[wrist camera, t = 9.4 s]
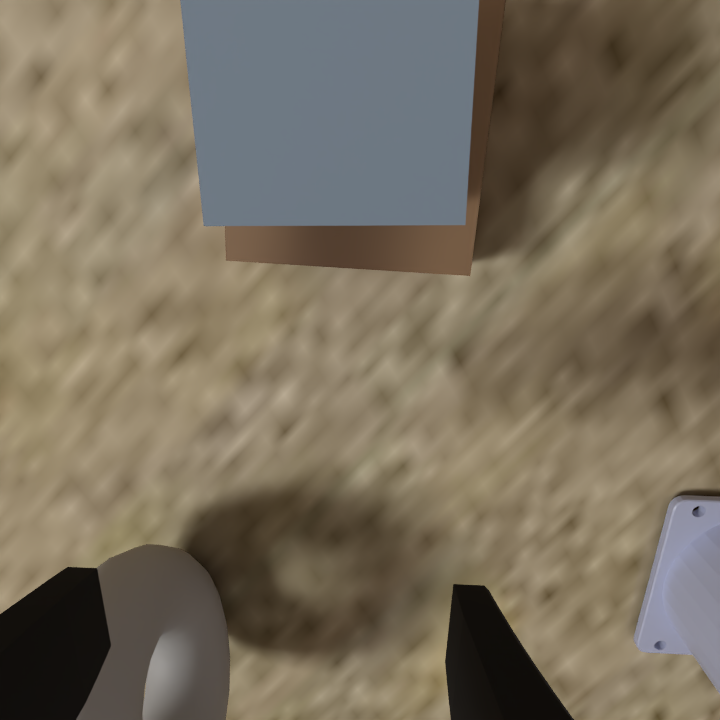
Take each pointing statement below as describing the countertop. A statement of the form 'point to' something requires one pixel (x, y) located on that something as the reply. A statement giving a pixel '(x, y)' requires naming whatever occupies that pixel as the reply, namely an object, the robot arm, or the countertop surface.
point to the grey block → (332, 110)
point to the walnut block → (393, 242)
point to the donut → (161, 640)
